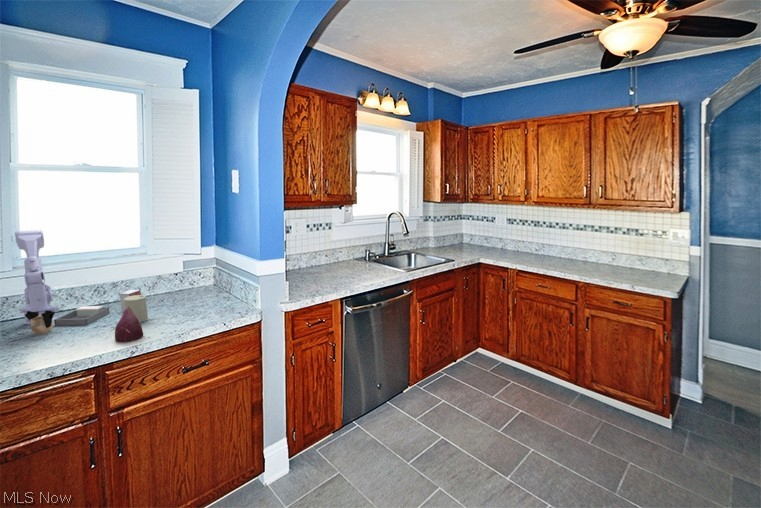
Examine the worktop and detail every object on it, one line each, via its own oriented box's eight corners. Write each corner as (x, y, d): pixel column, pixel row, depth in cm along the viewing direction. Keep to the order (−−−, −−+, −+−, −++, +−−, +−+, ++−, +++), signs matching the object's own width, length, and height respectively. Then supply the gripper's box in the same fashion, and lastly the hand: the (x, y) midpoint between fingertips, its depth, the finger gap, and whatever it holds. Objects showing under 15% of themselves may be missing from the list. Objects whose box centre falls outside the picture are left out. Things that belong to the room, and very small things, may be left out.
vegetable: (124, 341, 176) (121, 307, 177) (148, 337, 177) (144, 304, 178) (109, 344, 166) (105, 309, 167) (135, 341, 167) (131, 305, 168)
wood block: (32, 334, 175) (30, 319, 174) (42, 329, 181) (40, 315, 180) (43, 334, 175) (41, 319, 174) (53, 329, 181) (51, 314, 180)
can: (151, 320, 194) (148, 296, 192) (129, 325, 187) (126, 300, 185) (144, 315, 200) (142, 292, 198) (123, 320, 194) (121, 296, 191)
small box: (130, 313, 203) (128, 293, 201) (121, 313, 204) (119, 293, 202) (142, 309, 211) (140, 289, 209) (133, 308, 212) (131, 289, 210)
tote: (55, 327, 184) (54, 319, 184) (80, 314, 202) (79, 307, 201) (87, 326, 185) (86, 319, 185) (109, 313, 203) (108, 307, 202)
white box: (76, 317, 196) (75, 309, 195) (82, 314, 201) (81, 306, 200) (98, 316, 197) (97, 308, 196) (104, 313, 201) (103, 306, 201)
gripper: (12, 301, 171) (17, 330, 173) (48, 300, 172) (53, 330, 174) (25, 296, 178) (30, 325, 180) (60, 295, 179) (64, 324, 181)
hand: (42, 327), depth 178 cm, fingers closed on wood block, 4 cm apart
